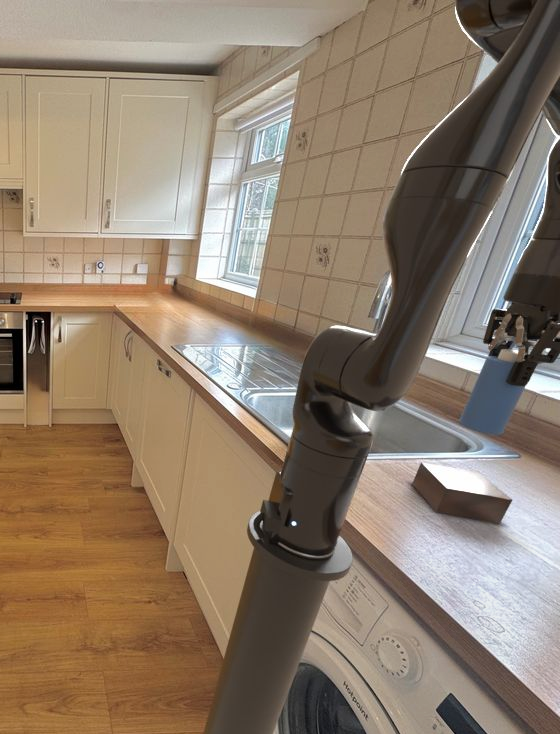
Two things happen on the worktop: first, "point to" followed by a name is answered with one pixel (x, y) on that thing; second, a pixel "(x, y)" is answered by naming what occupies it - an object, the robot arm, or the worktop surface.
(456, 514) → the walnut block
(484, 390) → the blue bottle
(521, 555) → the worktop surface
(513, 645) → the worktop surface
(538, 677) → the worktop surface
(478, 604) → the worktop surface
